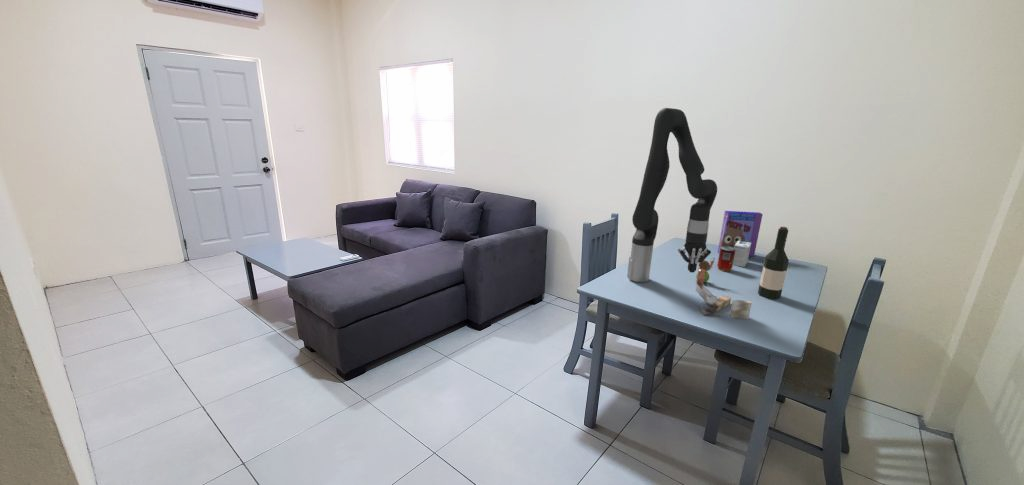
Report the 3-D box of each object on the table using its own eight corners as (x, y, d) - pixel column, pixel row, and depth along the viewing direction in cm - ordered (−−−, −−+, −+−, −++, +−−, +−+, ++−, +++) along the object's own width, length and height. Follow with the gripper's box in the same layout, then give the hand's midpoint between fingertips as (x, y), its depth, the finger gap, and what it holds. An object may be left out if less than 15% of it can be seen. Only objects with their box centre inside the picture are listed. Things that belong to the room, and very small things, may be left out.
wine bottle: (753, 291, 178) (767, 224, 169) (771, 291, 179) (786, 224, 170) (766, 299, 170) (781, 230, 161) (785, 299, 171) (801, 230, 162)
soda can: (733, 272, 200) (737, 249, 197) (718, 270, 202) (721, 248, 199) (730, 268, 206) (734, 246, 203) (715, 266, 208) (719, 244, 205)
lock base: (704, 316, 154) (707, 300, 152) (691, 299, 169) (693, 284, 167) (748, 318, 153) (751, 303, 151) (731, 301, 168) (733, 287, 166)
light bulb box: (733, 259, 220) (737, 240, 217) (747, 262, 216) (751, 242, 213) (730, 264, 212) (734, 244, 209) (744, 267, 208) (748, 247, 205)
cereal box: (720, 254, 228) (727, 212, 221) (717, 251, 232) (724, 210, 226) (753, 256, 225) (762, 214, 218) (750, 253, 230) (759, 212, 223)
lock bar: (717, 306, 155) (721, 284, 152) (707, 305, 155) (711, 283, 152) (701, 289, 170) (705, 269, 167) (693, 289, 170) (696, 268, 168)
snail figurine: (711, 285, 184) (716, 259, 181) (696, 283, 185) (700, 258, 182) (708, 280, 189) (713, 256, 186) (694, 279, 191) (698, 254, 187)
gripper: (684, 232, 158) (679, 275, 163) (718, 233, 158) (712, 275, 163) (676, 228, 165) (671, 268, 170) (709, 228, 165) (703, 268, 170)
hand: (691, 271), depth 166 cm, fingers closed
